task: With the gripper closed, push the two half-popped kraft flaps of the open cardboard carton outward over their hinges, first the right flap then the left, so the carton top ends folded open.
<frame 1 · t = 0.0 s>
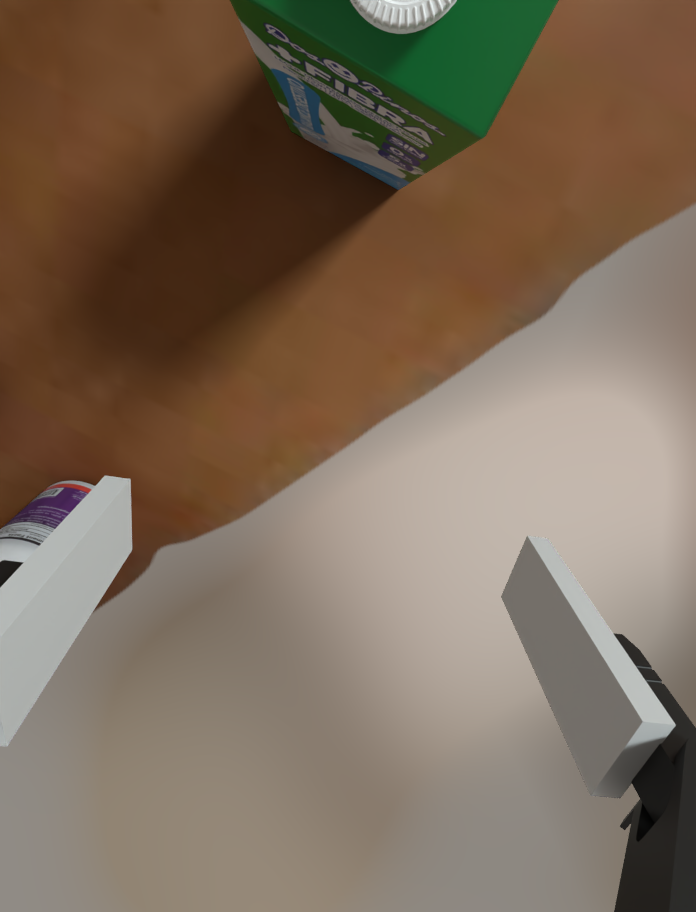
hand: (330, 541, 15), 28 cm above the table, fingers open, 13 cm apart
milk carton: (372, 94, 33), on the table
pill bottle: (85, 509, 47), on the table
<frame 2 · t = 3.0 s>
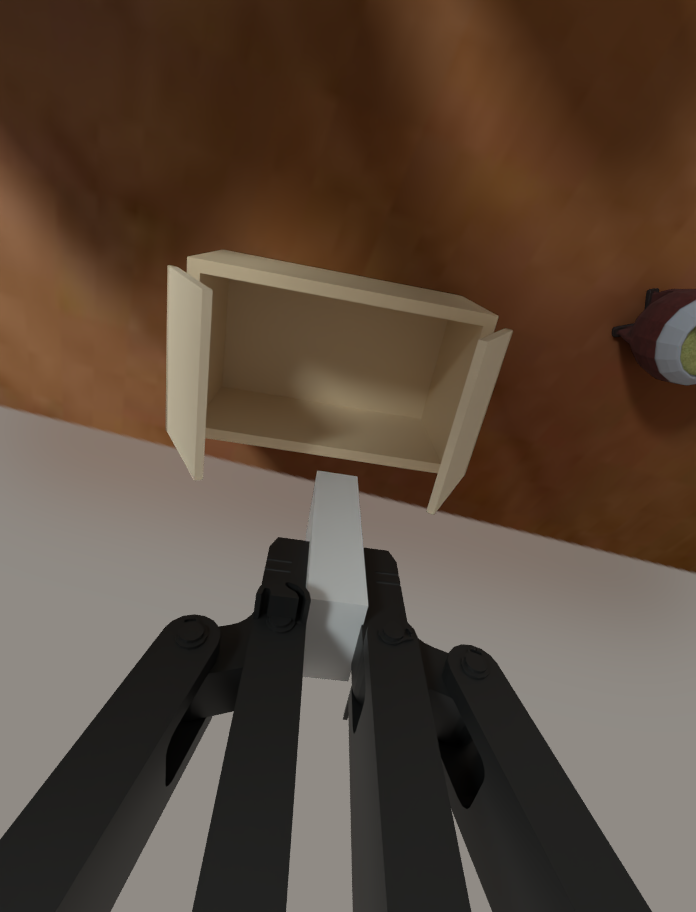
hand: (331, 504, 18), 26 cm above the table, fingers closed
carton: (333, 345, 41), on the table
mate gourd: (649, 319, 41), on the table
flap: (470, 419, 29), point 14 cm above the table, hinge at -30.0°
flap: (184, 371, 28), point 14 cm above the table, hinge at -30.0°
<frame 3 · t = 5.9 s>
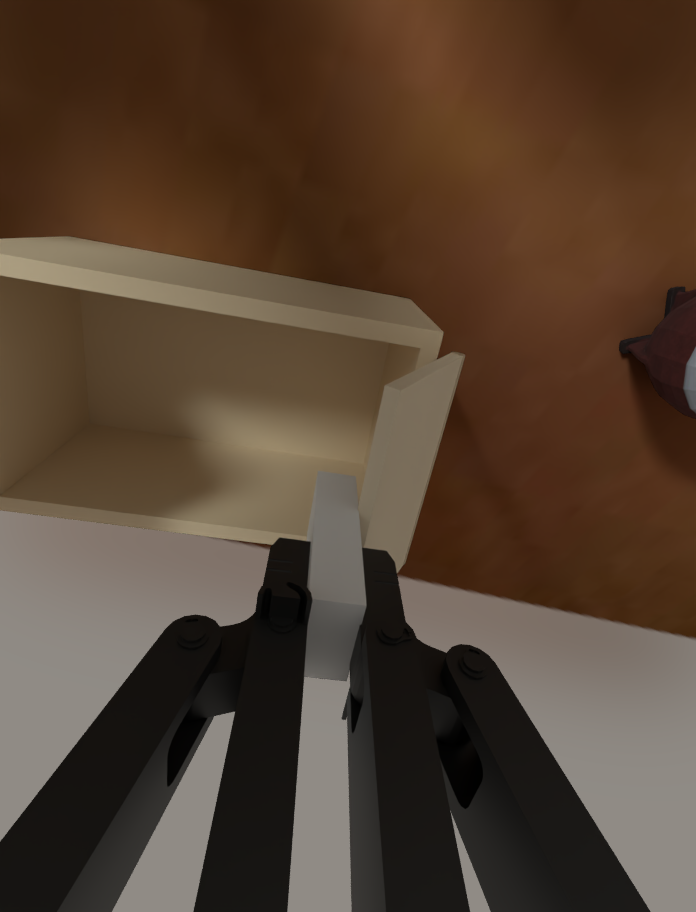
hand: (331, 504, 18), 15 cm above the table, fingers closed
carton: (238, 367, 30), on the table
mate gourd: (670, 329, 30), on the table
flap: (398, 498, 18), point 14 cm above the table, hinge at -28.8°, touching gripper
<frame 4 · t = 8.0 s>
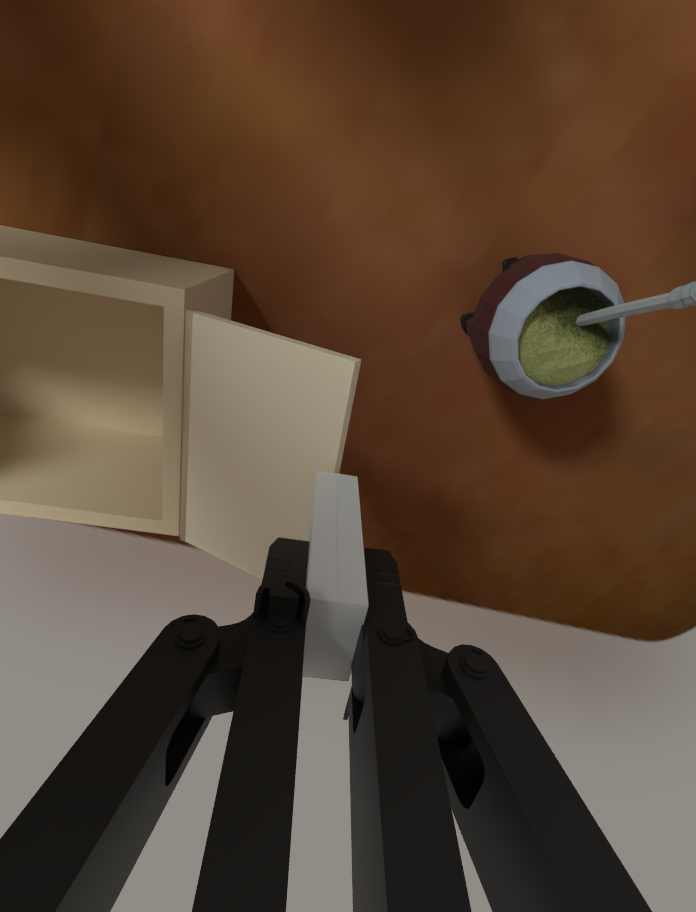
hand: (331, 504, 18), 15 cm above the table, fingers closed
carton: (65, 340, 29), on the table
mate gourd: (512, 303, 29), on the table
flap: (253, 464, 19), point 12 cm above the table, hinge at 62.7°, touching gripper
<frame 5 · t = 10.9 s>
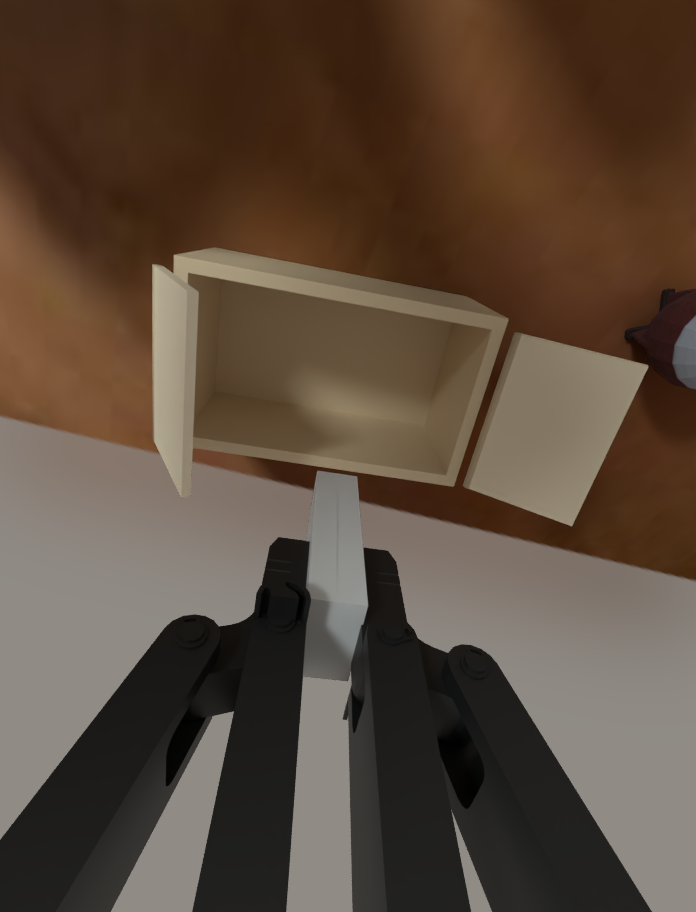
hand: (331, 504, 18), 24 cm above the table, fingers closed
carton: (331, 348, 39), on the table
mate gourd: (664, 321, 39), on the table
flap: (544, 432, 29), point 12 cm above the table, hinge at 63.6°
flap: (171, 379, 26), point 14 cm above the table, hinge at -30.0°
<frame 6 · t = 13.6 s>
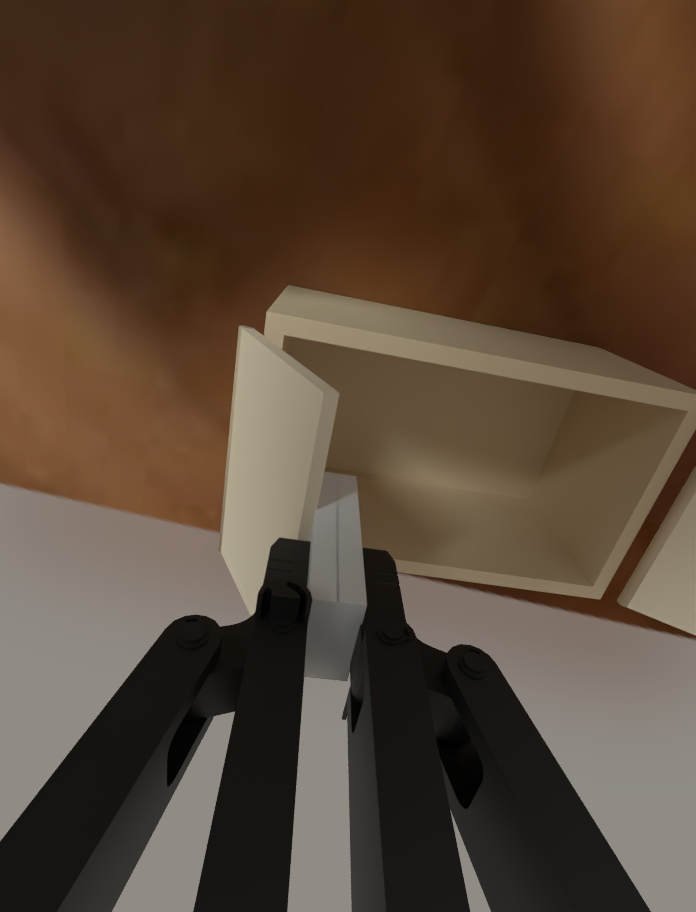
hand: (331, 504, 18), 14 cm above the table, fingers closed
carton: (423, 407, 31), on the table
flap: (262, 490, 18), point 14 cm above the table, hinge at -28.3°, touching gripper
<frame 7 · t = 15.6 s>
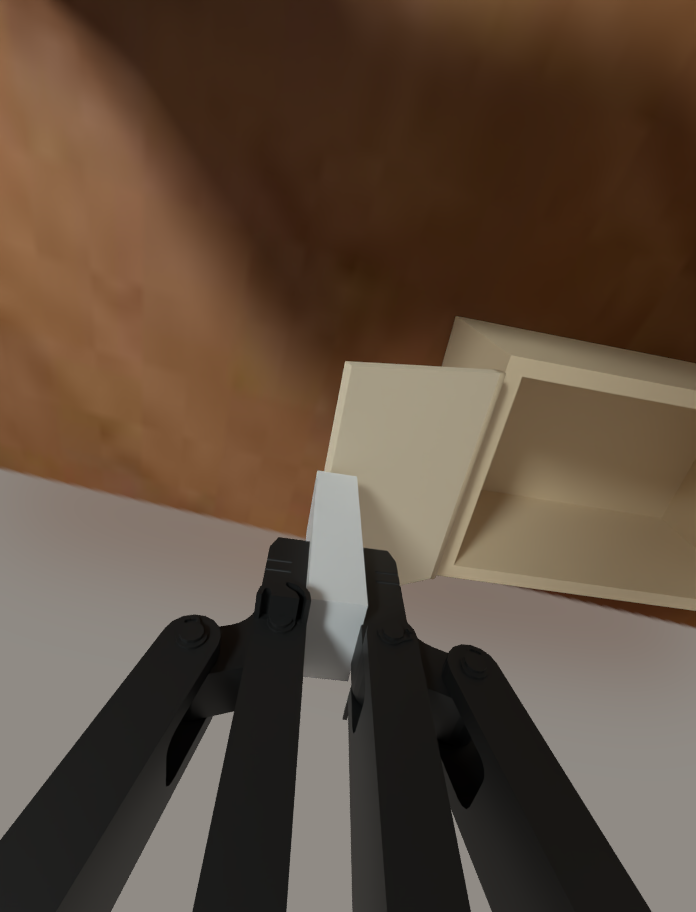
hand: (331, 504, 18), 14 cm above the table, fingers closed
carton: (569, 430, 32), on the table
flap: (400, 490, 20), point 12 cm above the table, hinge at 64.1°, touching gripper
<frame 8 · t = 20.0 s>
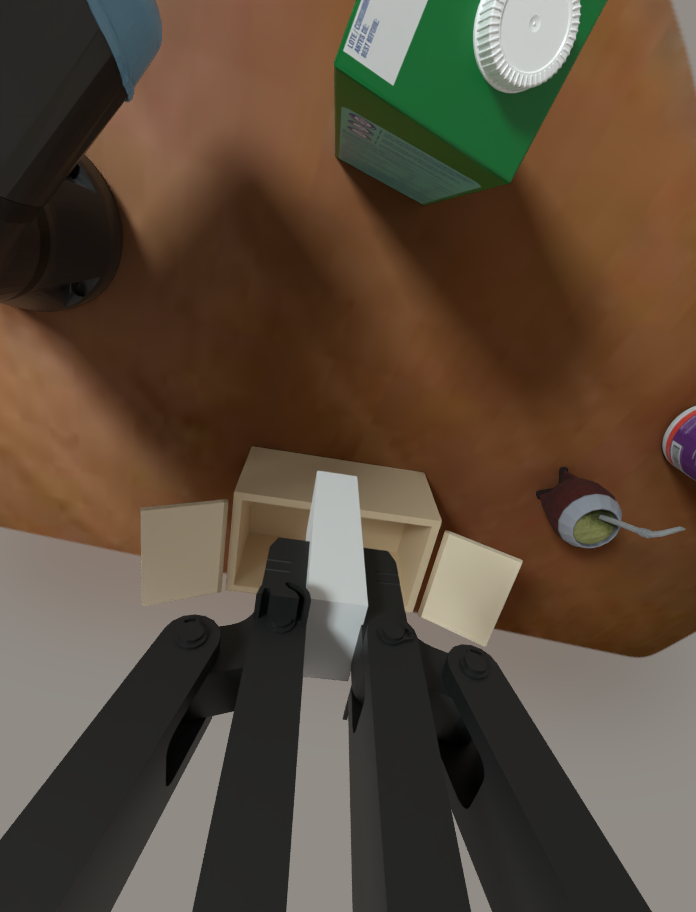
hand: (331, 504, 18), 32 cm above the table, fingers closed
milk carton: (404, 126, 39), on the table
carton: (331, 503, 55), on the table
mate gourd: (563, 485, 55), on the table
pill bottle: (692, 432, 53), on the table
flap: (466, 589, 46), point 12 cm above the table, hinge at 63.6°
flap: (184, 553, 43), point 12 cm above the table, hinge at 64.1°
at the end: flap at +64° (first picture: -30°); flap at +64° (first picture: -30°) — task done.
